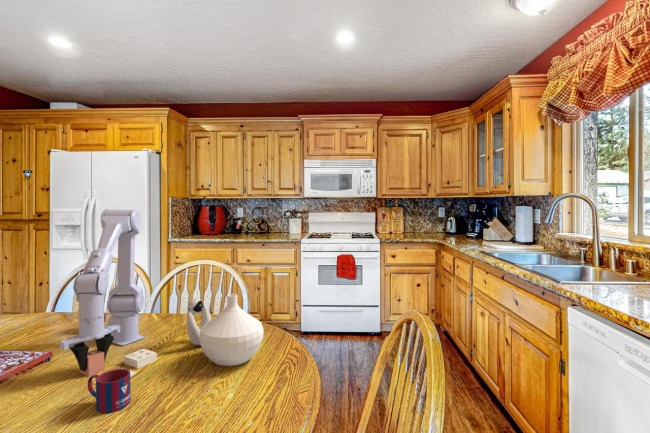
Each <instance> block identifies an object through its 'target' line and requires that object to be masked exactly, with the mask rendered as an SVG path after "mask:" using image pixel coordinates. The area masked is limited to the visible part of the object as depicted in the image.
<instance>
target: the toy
mask: <svg viewBox="0 0 650 433" xmlns="http://www.w3.org/2000/svg"><path fill="white" fill-rule="evenodd" d="M187 310H188V313H187V318H186V331H187V334H188V335H187V336H188V338H189V340H190V341H191V343H192V344H193V345H195V346H198V347H201V345H200V331H201V329H202V327H203V326H204V325H205V324H207V323H208V322H209V321H210V320H212V316H211V313H210V311H209V308H208V306H207V305H206V304H204V302H203V301H202V299H200V298H196V297H195V298H193V299H191V300H190V301H189V302H188V305H187ZM198 314H201V320H200V325H199V326H198V324H197V321H196V320H195V317H194V315H198Z"/></svg>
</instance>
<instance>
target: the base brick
mask: <svg viewBox="0 0 650 433" xmlns="http://www.w3.org/2000/svg"><path fill="white" fill-rule="evenodd" d="M123 359H124V361H123V364H124V365H127V366H129V367H133V368H136V369H139V368H141V367H145V366H146V365H149V364H151V363H153V362H155V361H157V360H158V353H157V352H156V351H152V350H150V349H146V348H142V349H139V350H137V351H134V352H132V353H129V354H126V355H124V357H123Z"/></svg>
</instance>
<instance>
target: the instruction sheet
mask: <svg viewBox="0 0 650 433" xmlns="http://www.w3.org/2000/svg"><path fill="white" fill-rule="evenodd" d="M129 371H130V378H131V377H132V376H134V375H136V374H137V373H138V371H133V370H129ZM93 384H94V385H96V381H95V382H93Z"/></svg>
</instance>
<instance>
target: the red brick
mask: <svg viewBox="0 0 650 433" xmlns="http://www.w3.org/2000/svg"><path fill="white" fill-rule="evenodd" d="M79 370H80V369H79ZM103 371H105V362H104V352H102V351H99V350H97V348H95V349H92V350H90V351H89V350H88V355H87V370H86V371H82V370H80V371H79V373H80V374H82V375H84V376H87V377H91V376H92V375H97V374H98V373H101V372H103Z"/></svg>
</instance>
